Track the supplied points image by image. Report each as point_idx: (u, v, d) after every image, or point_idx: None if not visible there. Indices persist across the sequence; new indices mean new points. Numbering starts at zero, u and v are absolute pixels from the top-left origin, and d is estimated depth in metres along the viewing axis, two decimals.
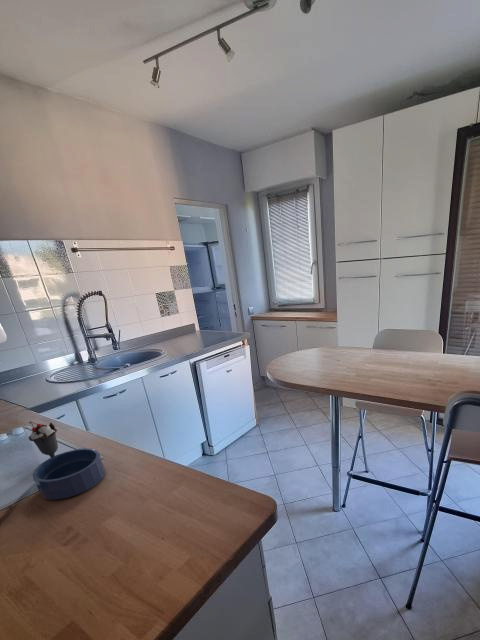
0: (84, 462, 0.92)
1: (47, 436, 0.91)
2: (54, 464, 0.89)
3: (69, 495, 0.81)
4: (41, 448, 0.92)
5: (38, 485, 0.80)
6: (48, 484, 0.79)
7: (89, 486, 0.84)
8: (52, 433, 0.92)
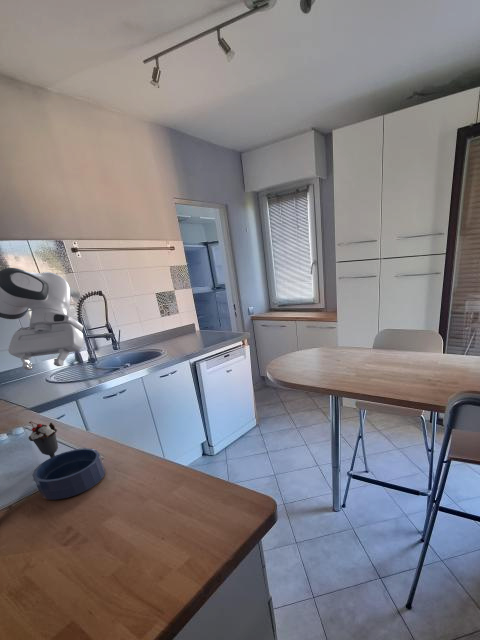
0: (84, 462, 0.92)
1: (47, 436, 0.91)
2: (54, 464, 0.89)
3: (69, 495, 0.81)
4: (41, 448, 0.92)
5: (38, 485, 0.80)
6: (48, 484, 0.79)
7: (89, 486, 0.84)
8: (52, 433, 0.92)
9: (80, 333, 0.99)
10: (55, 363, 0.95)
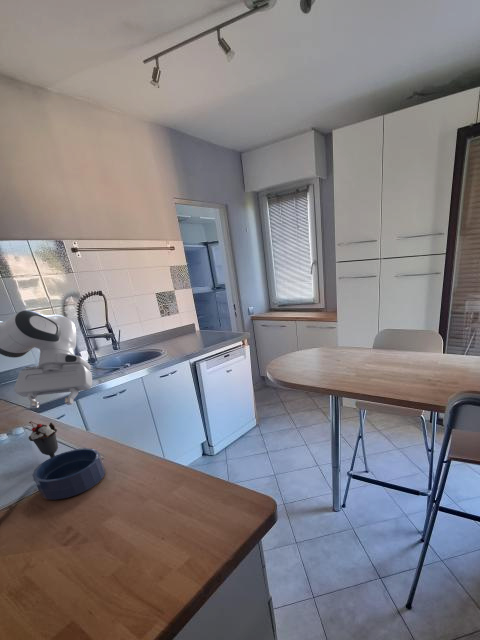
0: (84, 462, 0.92)
1: (47, 436, 0.91)
2: (54, 464, 0.89)
3: (69, 495, 0.81)
4: (41, 448, 0.92)
5: (38, 485, 0.80)
6: (48, 484, 0.79)
7: (89, 486, 0.84)
8: (52, 433, 0.92)
9: (90, 373, 1.04)
10: (66, 402, 0.98)
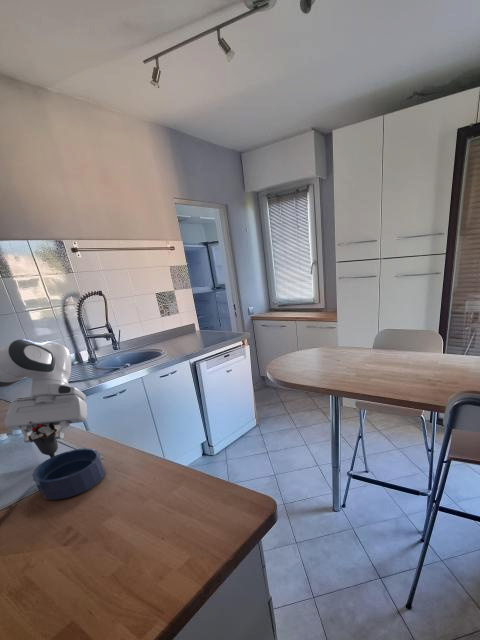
0: (84, 462, 0.92)
1: (47, 436, 0.91)
2: (54, 464, 0.89)
3: (69, 495, 0.81)
4: (41, 448, 0.92)
5: (38, 485, 0.80)
6: (48, 484, 0.79)
7: (89, 486, 0.84)
8: (52, 433, 0.92)
9: (85, 403, 0.98)
10: (56, 436, 0.93)
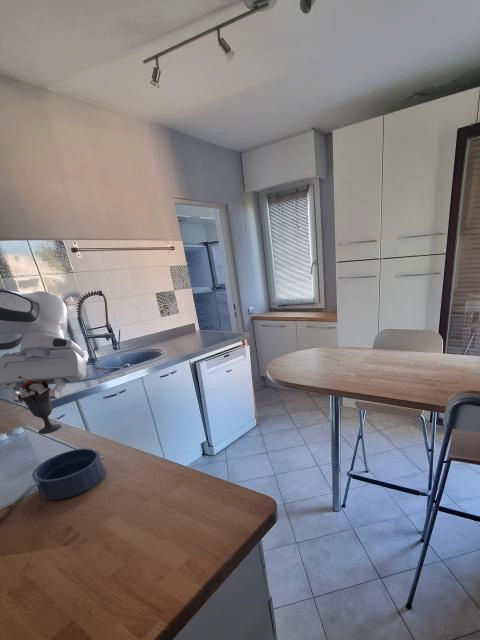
0: (84, 462, 0.92)
1: (39, 394, 0.78)
2: (54, 464, 0.89)
3: (69, 495, 0.81)
4: (32, 409, 0.79)
5: (38, 485, 0.80)
6: (48, 484, 0.79)
7: (89, 486, 0.84)
8: (45, 391, 0.80)
9: (83, 360, 0.86)
10: (50, 395, 0.80)
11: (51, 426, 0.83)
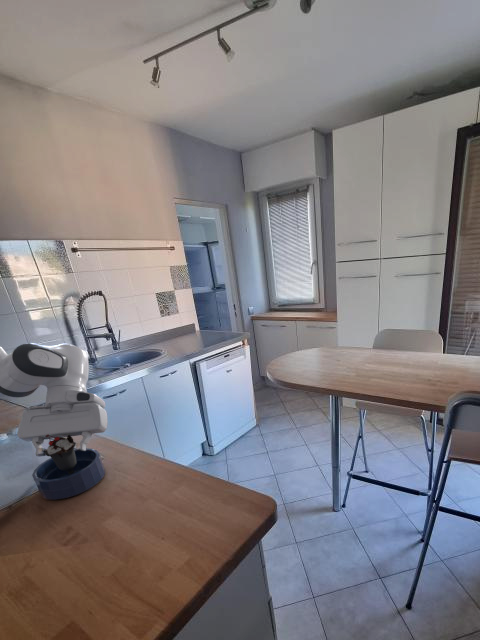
0: (84, 462, 0.92)
1: (65, 450, 0.82)
2: (54, 464, 0.89)
3: (69, 495, 0.81)
4: (59, 464, 0.83)
5: (38, 485, 0.80)
6: (48, 484, 0.79)
7: (89, 486, 0.84)
8: (71, 447, 0.83)
9: (105, 412, 0.89)
10: (78, 448, 0.83)
11: None
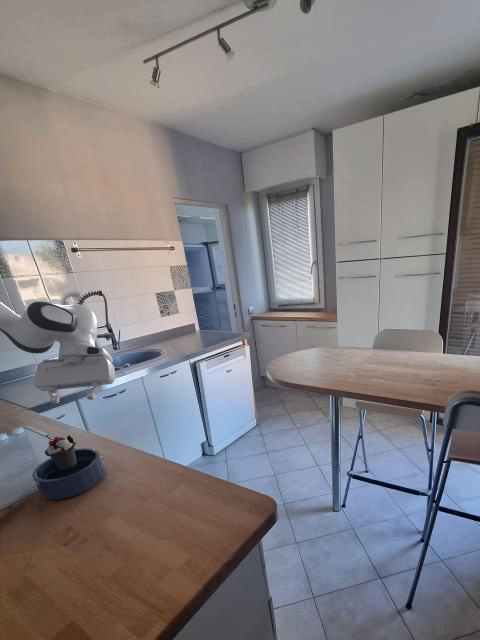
0: (84, 462, 0.92)
1: (65, 450, 0.82)
2: (54, 464, 0.89)
3: (69, 495, 0.81)
4: (59, 464, 0.83)
5: (38, 485, 0.80)
6: (48, 484, 0.79)
7: (89, 486, 0.84)
8: (71, 447, 0.83)
9: (112, 366, 0.97)
10: (88, 396, 0.92)
11: None
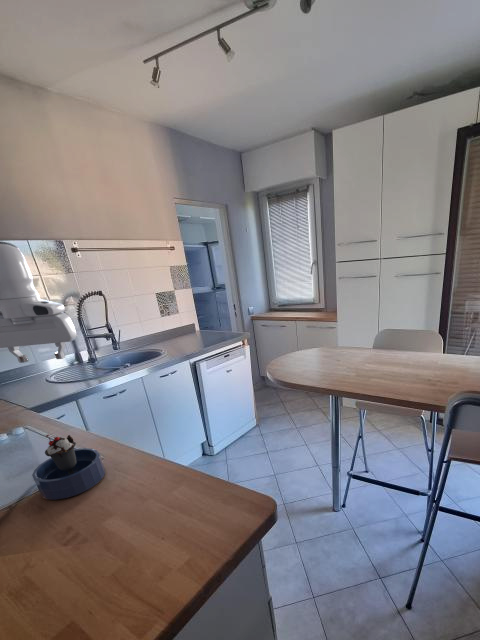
0: (84, 462, 0.92)
1: (65, 450, 0.82)
2: (54, 464, 0.89)
3: (69, 495, 0.81)
4: (59, 464, 0.83)
5: (38, 485, 0.80)
6: (48, 484, 0.79)
7: (89, 486, 0.84)
8: (71, 447, 0.83)
9: (68, 319, 0.90)
10: (58, 358, 0.91)
11: None
